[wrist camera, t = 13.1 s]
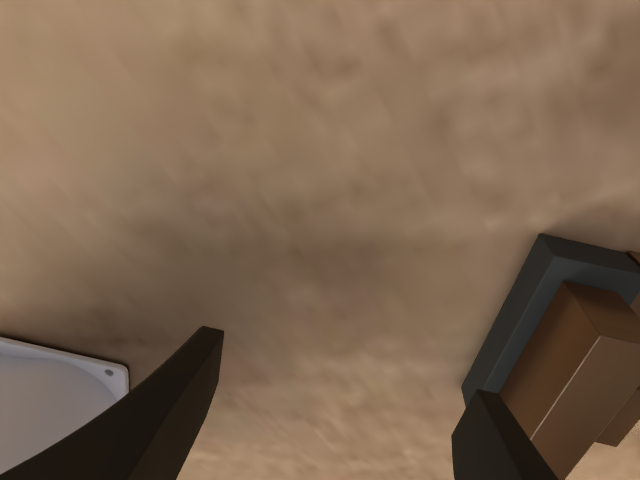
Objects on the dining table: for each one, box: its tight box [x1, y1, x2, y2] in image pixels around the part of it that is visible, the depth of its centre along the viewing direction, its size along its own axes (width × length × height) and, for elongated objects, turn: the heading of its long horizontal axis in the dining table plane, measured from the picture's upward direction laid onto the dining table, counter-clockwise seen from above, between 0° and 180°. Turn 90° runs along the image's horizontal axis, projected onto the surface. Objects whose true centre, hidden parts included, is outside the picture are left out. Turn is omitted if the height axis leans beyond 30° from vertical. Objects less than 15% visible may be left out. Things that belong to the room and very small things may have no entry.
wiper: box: [461, 234, 640, 480], centre depth 20 cm, size 4×10×6 cm, turn 169°
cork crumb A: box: [595, 385, 640, 447], centre depth 23 cm, size 4×4×2 cm
